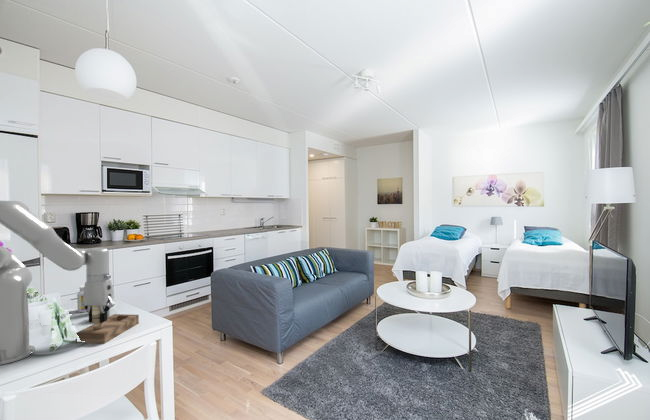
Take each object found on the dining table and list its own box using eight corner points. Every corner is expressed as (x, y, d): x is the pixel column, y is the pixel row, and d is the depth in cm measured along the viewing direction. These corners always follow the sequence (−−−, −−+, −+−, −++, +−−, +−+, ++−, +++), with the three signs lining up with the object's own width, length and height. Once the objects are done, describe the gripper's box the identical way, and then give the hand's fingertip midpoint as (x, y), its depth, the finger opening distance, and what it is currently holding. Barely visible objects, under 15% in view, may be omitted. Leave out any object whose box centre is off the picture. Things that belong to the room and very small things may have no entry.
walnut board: (104, 343, 121) (104, 333, 120) (76, 342, 121) (76, 332, 121) (138, 323, 141) (138, 314, 140) (114, 322, 141) (114, 314, 141)
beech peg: (98, 330, 123) (98, 305, 123) (89, 329, 123) (88, 305, 123) (106, 325, 127) (106, 302, 127) (97, 325, 127) (97, 302, 127)
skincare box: (116, 315, 150) (116, 300, 150) (109, 320, 144) (109, 305, 144) (103, 316, 150) (103, 301, 149) (96, 320, 143) (95, 305, 143)
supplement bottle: (97, 308, 160) (96, 284, 159) (84, 313, 153) (83, 288, 153) (87, 307, 161) (86, 283, 161) (74, 312, 155) (73, 287, 154)
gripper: (123, 276, 128) (123, 318, 128) (86, 275, 129) (86, 317, 129) (110, 280, 120) (110, 325, 121) (70, 279, 121) (70, 324, 122)
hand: (98, 321), depth 125 cm, fingers closed on beech peg, 4 cm apart
